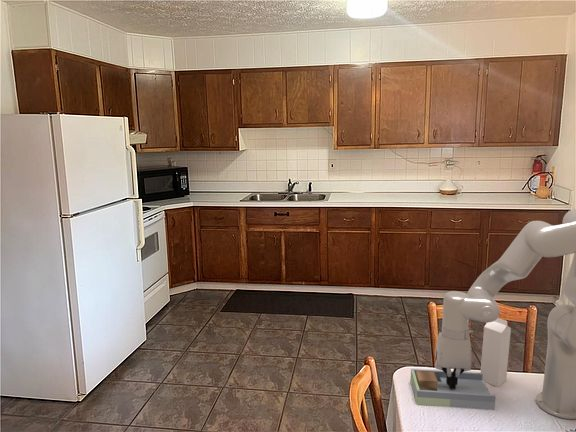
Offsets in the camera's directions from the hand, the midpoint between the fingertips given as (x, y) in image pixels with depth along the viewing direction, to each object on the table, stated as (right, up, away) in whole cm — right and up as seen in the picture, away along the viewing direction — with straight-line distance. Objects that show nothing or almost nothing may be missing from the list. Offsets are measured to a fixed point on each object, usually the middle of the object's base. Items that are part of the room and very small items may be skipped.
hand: (451, 386), depth 137 cm
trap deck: (0, -3, +1) cm, 3 cm away
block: (-8, 0, +1) cm, 8 cm away
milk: (+17, -2, +9) cm, 20 cm away
